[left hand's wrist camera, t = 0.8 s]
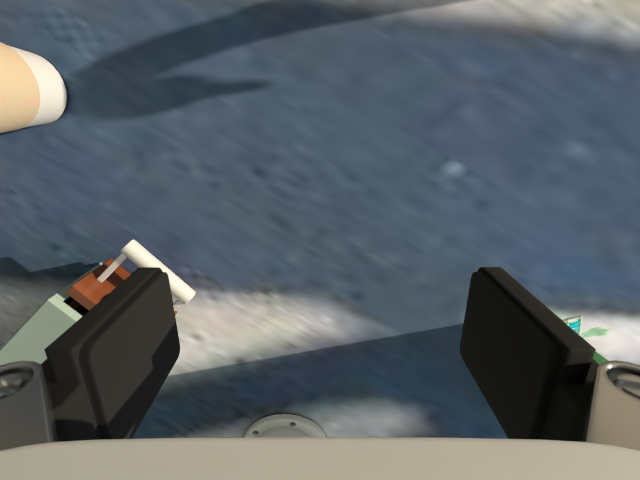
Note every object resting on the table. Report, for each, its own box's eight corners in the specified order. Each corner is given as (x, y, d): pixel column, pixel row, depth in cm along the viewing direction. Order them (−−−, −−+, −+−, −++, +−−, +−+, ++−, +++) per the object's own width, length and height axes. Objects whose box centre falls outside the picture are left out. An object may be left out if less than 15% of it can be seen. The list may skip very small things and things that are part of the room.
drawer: (144, 223, 39) (109, 245, 33) (211, 281, 42) (191, 312, 35) (28, 344, 45) (-21, 383, 38) (93, 389, 47) (57, 433, 41)
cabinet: (101, 261, 42) (47, 299, 34) (173, 320, 45) (140, 368, 36) (15, 351, 46) (-51, 403, 38) (86, 399, 49) (39, 458, 41)
